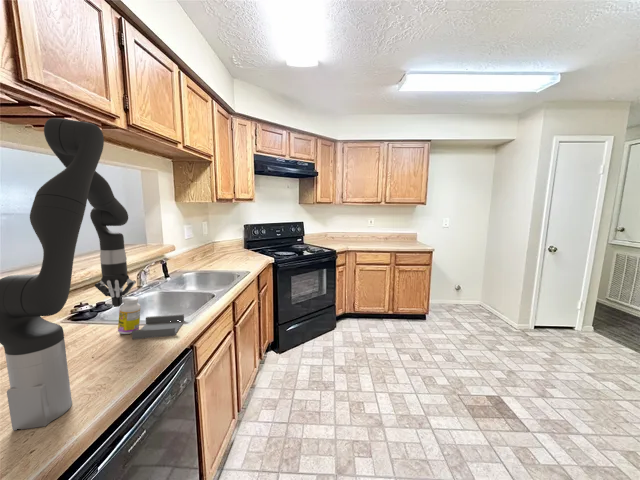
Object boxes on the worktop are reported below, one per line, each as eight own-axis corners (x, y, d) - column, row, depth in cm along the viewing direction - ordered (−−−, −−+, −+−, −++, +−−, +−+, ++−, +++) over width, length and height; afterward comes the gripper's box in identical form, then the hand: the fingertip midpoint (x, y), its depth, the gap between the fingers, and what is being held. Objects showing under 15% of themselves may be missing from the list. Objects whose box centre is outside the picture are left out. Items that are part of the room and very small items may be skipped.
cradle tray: (174, 335, 100) (174, 328, 100) (132, 339, 97) (131, 331, 97) (184, 320, 113) (183, 314, 112) (147, 323, 110) (146, 316, 109)
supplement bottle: (116, 329, 102) (118, 296, 101) (136, 325, 107) (139, 294, 106) (119, 336, 98) (121, 302, 97) (140, 332, 102) (143, 299, 101)
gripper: (86, 263, 93) (91, 311, 96) (129, 262, 96) (133, 308, 99) (98, 259, 100) (102, 303, 103) (138, 258, 103) (141, 301, 106)
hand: (117, 306), depth 101 cm, fingers closed
